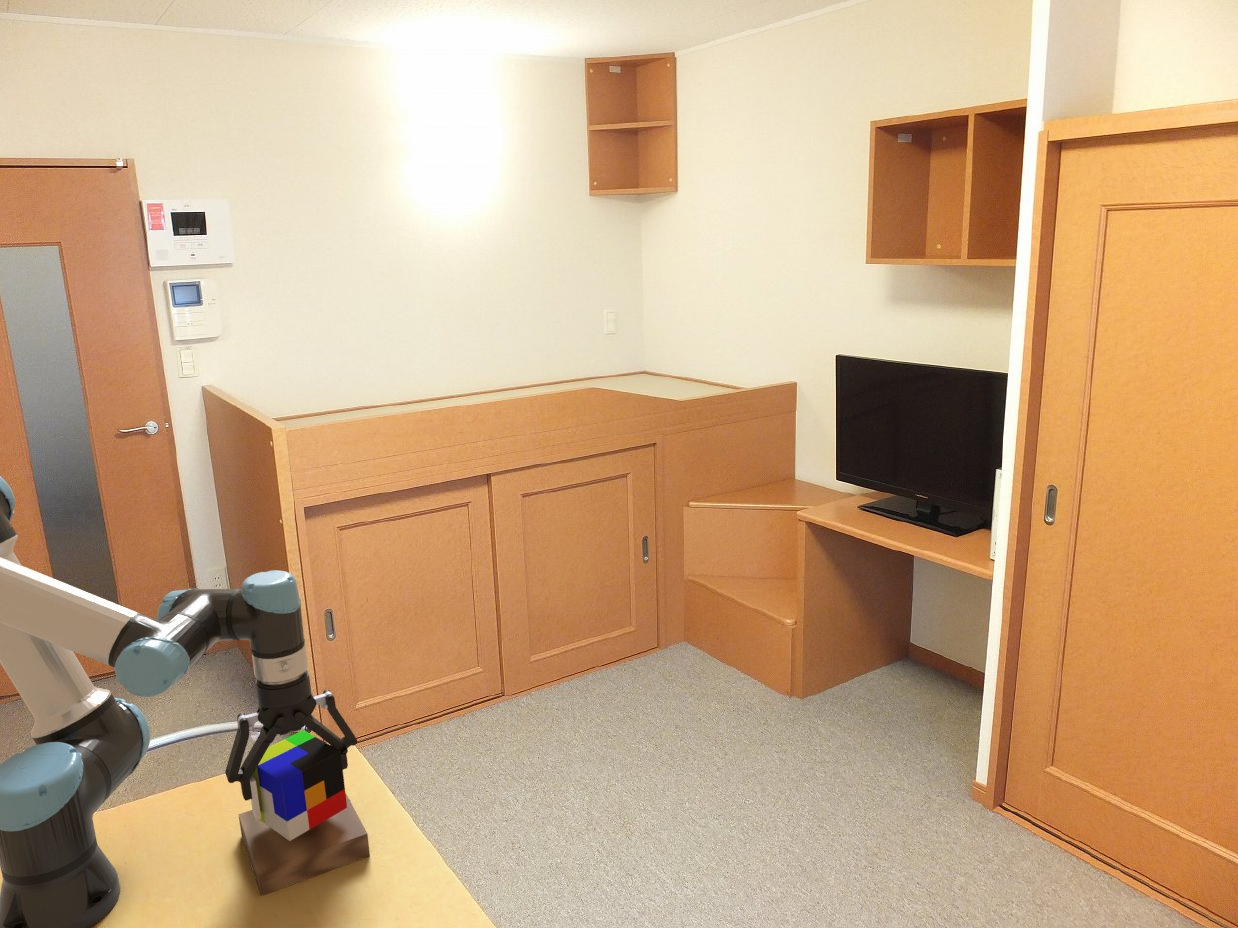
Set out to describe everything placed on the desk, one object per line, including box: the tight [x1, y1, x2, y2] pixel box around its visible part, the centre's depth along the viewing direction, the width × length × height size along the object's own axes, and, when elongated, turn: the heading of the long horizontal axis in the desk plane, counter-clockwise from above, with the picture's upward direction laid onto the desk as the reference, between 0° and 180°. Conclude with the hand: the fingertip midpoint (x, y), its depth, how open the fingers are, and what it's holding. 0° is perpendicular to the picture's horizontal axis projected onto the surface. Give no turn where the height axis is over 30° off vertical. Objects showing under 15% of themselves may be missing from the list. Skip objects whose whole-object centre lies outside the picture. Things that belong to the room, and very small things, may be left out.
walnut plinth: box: [237, 791, 371, 897], centre depth 145 cm, size 16×16×4 cm
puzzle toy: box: [244, 729, 347, 841], centre depth 142 cm, size 10×10×10 cm
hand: (299, 801), depth 143 cm, fingers closed on puzzle toy, 12 cm apart
